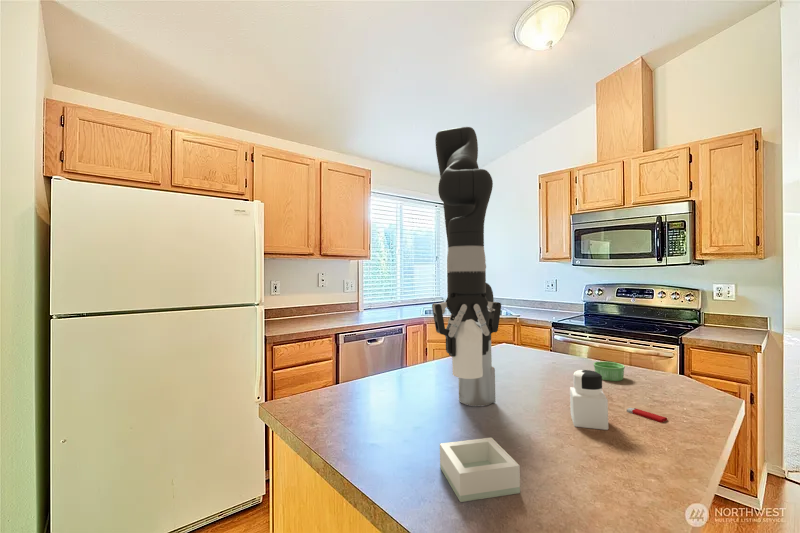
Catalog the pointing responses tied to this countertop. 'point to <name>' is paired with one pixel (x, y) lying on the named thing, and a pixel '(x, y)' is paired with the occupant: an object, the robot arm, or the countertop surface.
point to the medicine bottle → (588, 401)
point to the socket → (479, 469)
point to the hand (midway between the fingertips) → (467, 354)
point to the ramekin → (610, 370)
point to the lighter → (647, 415)
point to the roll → (468, 351)
